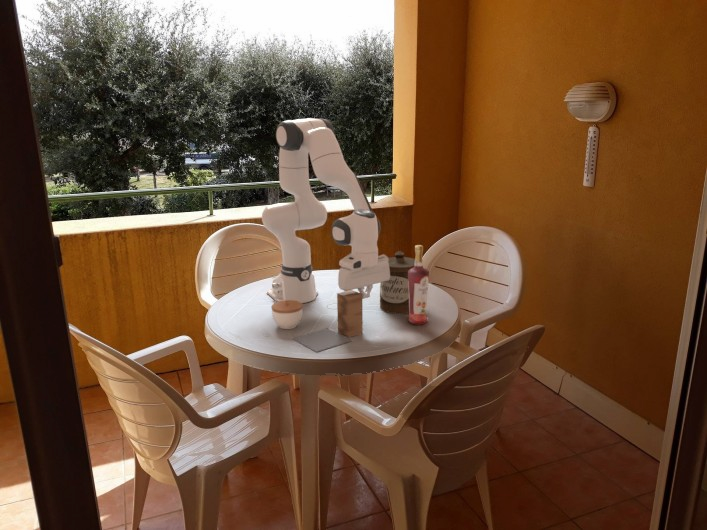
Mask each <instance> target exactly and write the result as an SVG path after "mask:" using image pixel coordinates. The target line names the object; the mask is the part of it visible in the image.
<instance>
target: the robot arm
mask: <svg viewBox="0 0 707 530" xmlns="http://www.w3.org/2000/svg"><path fill="white" fill-rule="evenodd" d="M275 139H276V143H277V145H278V146H279V156H278V171H279V174H278V175H279V176H278V177H279V186H280V188H281V189H282V190H283V191H284V192H285V193H288V194H289V195H290V194H291V195H292V196H293V197H294V201H290V202H280V203H278V202H277V203H274V204H271V205H267V206H265V208H264V209H263V211H262V214H261V222H262V225H263V227H264V228H265V229H266V230H268V232H270V233H271V234H273V235H274V236H275V237H276V239H277V240H278V242H279V244H280V247H281V248H280V249H281V255H282V263H281V264H280V266H279V268H280V273H279V274H278V275H277V276H276V277H274V278H273V280H272V284H271V287H272V288H270V289H268V290H266V294H267V295H268V296H269V297H271V298H272V299H273V300H274V301H275V303H276V302H279V301H284V300H294V301H298V302H301V303H302V304H304V303H308V302H309V303H310V302H311V301H315V299H316V298H317V295H318V294H319V291H318V290H317V289H316V282H315V281H316V280H315V275H314V274H313V264H312V263H311V261H312V259H311V256H312V255H311V245H310V243H309V242H308V241H307V240H305V239H303V238H300V237H298V236H297V235H296V231H301V230H302V231H303V230H312V229H316V228H319V227H322V226H324V224H326V221H327V219H328V211H327V210H328V209H327V208H326V206H325V205H324V204H323V203H322V201H320V200H318V199H317V198H316V196H315V195H314V193H313V191H312V188H311V186H310V174H309V171H310V170H309V160H310V163H311V166H312V170H313V172H314V174H315V177H316V178H317V179H318V181H320V182H321V183H323V184H324V185H326V186H330V187H334V188H336V189H339V190H341V191H343V192H344V193H345V194H346V195H347V196H348V198H349V200H350V203H351V204H352V207H353V212H352V213H350V215H347V216H344V217H343V216H342V217H340V218H336V219H335V220H334V221H333V223H332V225H331V230H330V231H331V232H330V233H331V236H332V239H333V241H334V242H335V243H336V244H337V245H339V246H345V247H346V246H351V252H350V253H349V254H347V255H346V256H344V257H343V258H341V259H340V260H339V263H338V265H339V266H340V268H339V271H338V276H337V277H338V278H337V279H338V280H337V281H338V282H337V284H338V287H339V289H340V290H342V291H343V292H344V291H349V290H353V291H354V290H356V289H357V292H358V293H361V294H362V300H363V299H368V298H370V297H371V292H372V289H373V287H374V286H373V285H375V284H380V282H384V281H388V280H389V278H390V269H389V263H388V258H389V257H388V256H387V255H386V254H380V255H379V248H378V240H379V236H380V233H381V227H382V226H381V223H380V219H379V218H378V217H377V216H376V215H377V214H376V213H375V212H374V211H373V209H372V206H371V204H370V202H369V199H368V198H367V197H368V196H367V195H366V192H365V190H364V188H363V186H362V184H361V182H360V180H359V178H358V176H357V174H356V173H355V172H353V171H352V170H351V168H350V167H349V165H348V164H347V162H346V160H345V159H344V156H343V153H342V149H341V147H340V143H339V142H338V140H337V138H336V136H335V128H334V126H333V124H332V122H331V121H330V120H329V119H325V118H321V117H318V118H312V117H307V118H305V117H304V118H299V119H293V120H292V119H287V120H284V121H281V122H279V124H278V125H277V127H276V131H275ZM309 157H310V159H309ZM365 287H366V289H365Z"/></svg>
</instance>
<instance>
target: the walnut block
mask: <svg viewBox="0 0 707 530" xmlns="http://www.w3.org/2000/svg"><path fill="white" fill-rule="evenodd" d="M336 299H337V300H336V301H337V303H336V305H337V311H336V312H337V333H338V334H340V335H342V336H344V337H346V338H348V339H350V338H352V337H355V336H358V335H361V334H363V331H364V330H363V329H364V328H363V327H364V325H363V323H364V322H363V316H364V315H363V299H362V294H361V293H360V292H359V291H355V290H354V289H353V290H349V291H344V290H343V291H341V292H338V293H336Z"/></svg>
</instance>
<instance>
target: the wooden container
mask: <svg viewBox="0 0 707 530" xmlns="http://www.w3.org/2000/svg"><path fill="white" fill-rule="evenodd" d="M394 256H395V257H394ZM394 256H393V257H388V263H389V269H390V278H389V280H388V281H384V282H380V283H379V308H380V310H382V311H383V312H386V313H390V314H396V315H397V314H399V315H400V314H401V315H402V314H403V315H404V314H409V289H408V271H409V270H410V269H411V268H414V266H415V258H412V257H408V256H407V257H406V256H405V253H404V252H402V251H397V252H395V253H394Z"/></svg>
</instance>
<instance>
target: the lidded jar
mask: <svg viewBox="0 0 707 530" xmlns="http://www.w3.org/2000/svg"><path fill="white" fill-rule="evenodd" d="M271 312H272V313H271V314H272V319H273V321H274V323H275V324H276V325H277V327H279V328H280V329H283V330H291V329H294V328H296V327H297V326H298V325H299V323H300V322H301V321H302V317H303V303H301V302H298V301H294V300H284V301H279V302H276V301H275V302H274V303H273V304H272V305H271Z"/></svg>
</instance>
